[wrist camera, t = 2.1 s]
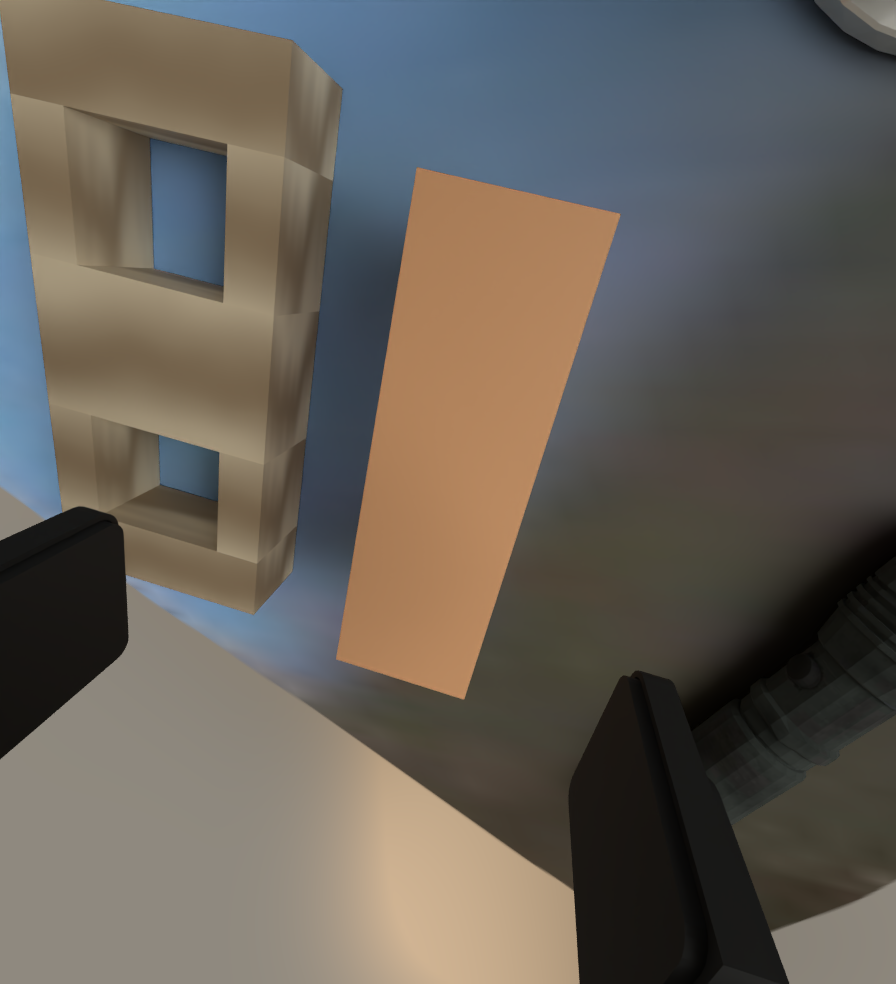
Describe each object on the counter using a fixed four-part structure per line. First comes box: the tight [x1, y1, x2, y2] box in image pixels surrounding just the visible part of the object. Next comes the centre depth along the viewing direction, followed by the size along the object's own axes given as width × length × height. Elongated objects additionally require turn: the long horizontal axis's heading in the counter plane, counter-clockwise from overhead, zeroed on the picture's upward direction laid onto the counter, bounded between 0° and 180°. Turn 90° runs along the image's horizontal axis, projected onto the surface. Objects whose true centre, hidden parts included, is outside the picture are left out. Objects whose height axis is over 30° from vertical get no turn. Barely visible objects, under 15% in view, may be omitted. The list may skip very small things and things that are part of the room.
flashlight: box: [691, 556, 896, 825], centre depth 23 cm, size 5×21×5 cm, turn 149°
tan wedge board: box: [336, 167, 621, 699], centre depth 19 cm, size 16×5×8 cm, turn 167°
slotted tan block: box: [0, 0, 343, 615], centre depth 21 cm, size 22×10×4 cm, turn 167°
